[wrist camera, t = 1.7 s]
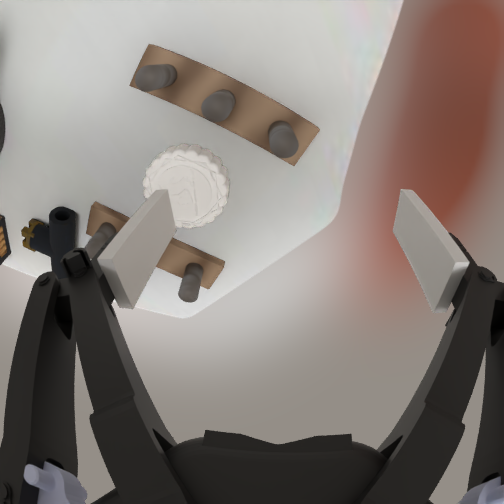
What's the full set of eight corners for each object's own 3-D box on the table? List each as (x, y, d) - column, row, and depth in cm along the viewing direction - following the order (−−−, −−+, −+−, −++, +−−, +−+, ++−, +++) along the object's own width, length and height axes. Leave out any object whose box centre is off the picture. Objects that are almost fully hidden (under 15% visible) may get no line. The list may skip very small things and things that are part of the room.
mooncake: (142, 147, 35) (133, 155, 33) (227, 140, 35) (225, 148, 32) (156, 219, 43) (149, 232, 40) (232, 217, 43) (230, 231, 40)
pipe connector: (24, 267, 43) (17, 208, 35) (36, 251, 48) (33, 193, 39) (68, 287, 46) (66, 229, 38) (78, 270, 51) (80, 211, 42)
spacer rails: (89, 228, 44) (70, 255, 38) (152, 44, 26) (128, 42, 20) (210, 283, 51) (204, 315, 45) (317, 127, 33) (331, 142, 27)
